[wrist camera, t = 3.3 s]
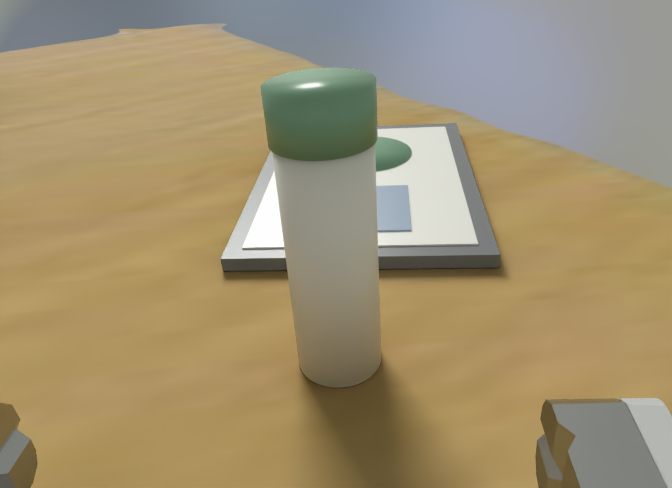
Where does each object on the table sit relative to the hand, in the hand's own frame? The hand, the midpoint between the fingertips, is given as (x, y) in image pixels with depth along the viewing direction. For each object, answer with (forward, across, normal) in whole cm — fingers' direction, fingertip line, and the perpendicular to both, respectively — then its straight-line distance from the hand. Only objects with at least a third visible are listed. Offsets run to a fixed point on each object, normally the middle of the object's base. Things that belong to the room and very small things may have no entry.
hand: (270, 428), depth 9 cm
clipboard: (+30, 0, +10) cm, 32 cm away
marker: (+13, 0, +10) cm, 16 cm away
